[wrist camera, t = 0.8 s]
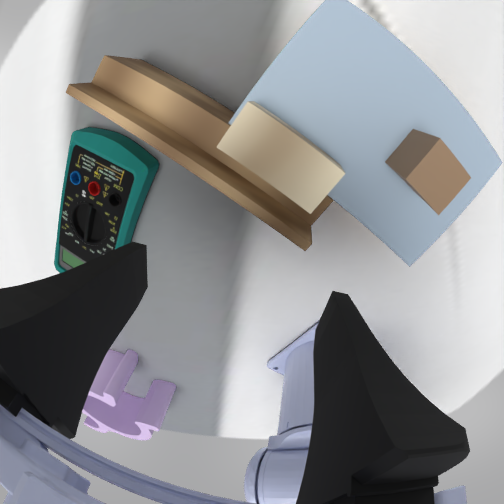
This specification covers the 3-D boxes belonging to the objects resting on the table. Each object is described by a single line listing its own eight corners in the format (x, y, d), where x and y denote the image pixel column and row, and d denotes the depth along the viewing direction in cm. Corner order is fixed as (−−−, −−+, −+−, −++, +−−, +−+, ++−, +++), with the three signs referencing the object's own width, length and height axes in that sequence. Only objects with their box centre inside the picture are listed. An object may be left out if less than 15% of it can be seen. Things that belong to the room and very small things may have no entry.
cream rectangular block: (339, 164, 13) (345, 173, 11) (309, 200, 14) (310, 213, 13) (254, 101, 12) (247, 101, 10) (226, 141, 13) (216, 147, 12)
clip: (120, 409, 42) (105, 438, 36) (66, 365, 38) (46, 394, 32) (191, 395, 34) (176, 439, 28) (118, 334, 30) (90, 378, 24)
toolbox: (470, 148, 15) (524, 174, 9) (371, 258, 20) (390, 315, 15) (214, -41, 11) (180, -83, 5) (126, 87, 16) (65, 92, 11)
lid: (487, 155, 13) (534, 179, 8) (401, 251, 17) (426, 299, 13) (330, 2, 10) (341, -34, 6) (235, 120, 15) (209, 129, 10)
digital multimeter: (167, 153, 19) (147, 162, 16) (121, 292, 26) (107, 310, 24) (92, 118, 18) (68, 123, 16) (66, 256, 26) (50, 271, 23)
